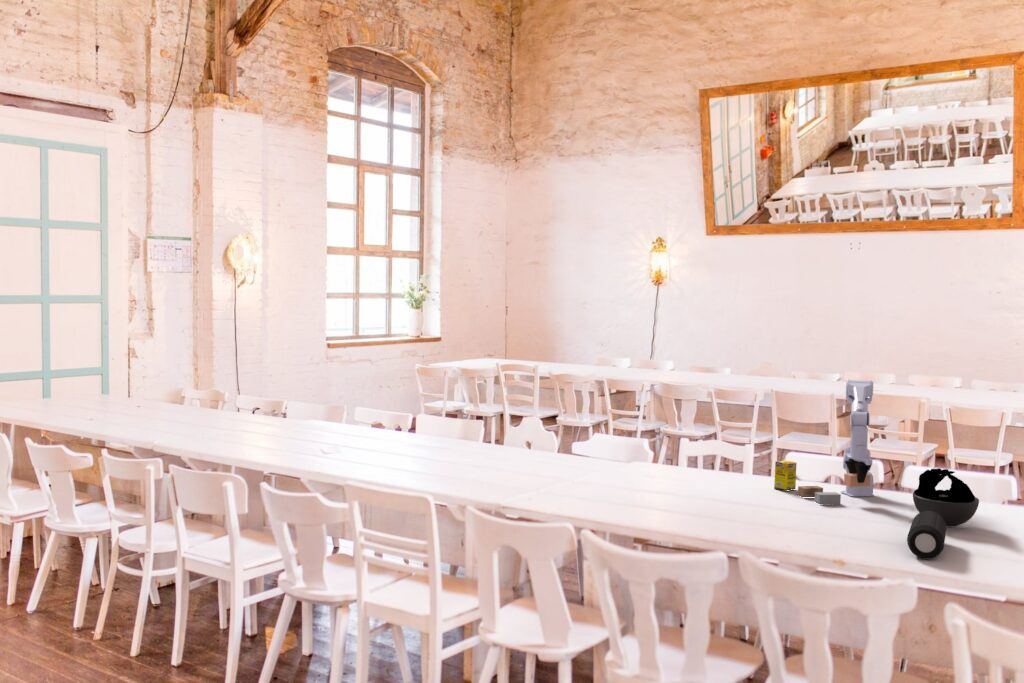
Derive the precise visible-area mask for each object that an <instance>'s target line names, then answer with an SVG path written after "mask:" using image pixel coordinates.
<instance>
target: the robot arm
mask: <svg viewBox="0 0 1024 683" xmlns="http://www.w3.org/2000/svg"><path fill="white" fill-rule="evenodd" d="M873 396H874V382H873V380H859V379H858V380H856V379H847V380H846V381H845V399H846V403H849V404H850V406H851V413H850V416H849V418H850V419H849V425H850V443H849V444H850V446H848V447H845V449H844V450H843V458H842V459H843V460H842V469H844V470H845V474H852V473H857V480H858V483H864V481H865V478H866V475H867V474H868V475H870V486H861V487H849V486H847V485H845V490H841V491H840V493H842V494H844V495H847V496H850V497H851V498H852V497H854V498H855V497H874V496H875V495H874V476H873V474H872V472H870V471H871V468H872V466H873V459H872V458H871V451H870V449H868V434H869V433H868V432H869V427H870V421H871V419H870V417H871V416H870V411H869V405H870V404H872V401H873Z"/></svg>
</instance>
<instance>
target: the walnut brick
mask: <svg viewBox="0 0 1024 683" xmlns="http://www.w3.org/2000/svg"><path fill="white" fill-rule="evenodd" d="M797 487H798V488H797V496H798V495H799V496H801V497H815V492H824V488H823V487H821V486H819V485H801V486H800V485H799V486H797Z"/></svg>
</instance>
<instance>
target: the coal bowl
mask: <svg viewBox="0 0 1024 683" xmlns="http://www.w3.org/2000/svg"><path fill="white" fill-rule="evenodd" d="M954 473H956V471H953V470H949V469H946V468H944V469H941V468H931V469H926V470H924V471H923V472H922V473H921V474H919V477H918V486H917V488H916V489H914V490H913V492H912V500H913V503H914V507H915V509H916V510H917V512H918V514H919V513H920V512H923V511H933V512H936V513H938V514H939V515H940V516H942V517H943V519H944V520H945V522H946V526H947V528H953V527H958V526H961V525H963V524H965V523H967V522H969V520H971V519H972V518H973V517H974V515H975V514H976V512H977V510H978V508H979V504H980V499H979V498H978V497H977V496H975V494H974V493H973V492H972V490H971V489H970V487H969V485H968V484H967V483H965V482H964V481H963V480H962V479H960V478H958V477H957V476H955V475H954ZM946 477H947V478H948V479H949V480H950V481H951V484H950V488H949V489H945V490H944V489H936V487H937V486H938V485H939V484H940V483H941V482H942V481H943V480H944V479H945V478H946Z"/></svg>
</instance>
